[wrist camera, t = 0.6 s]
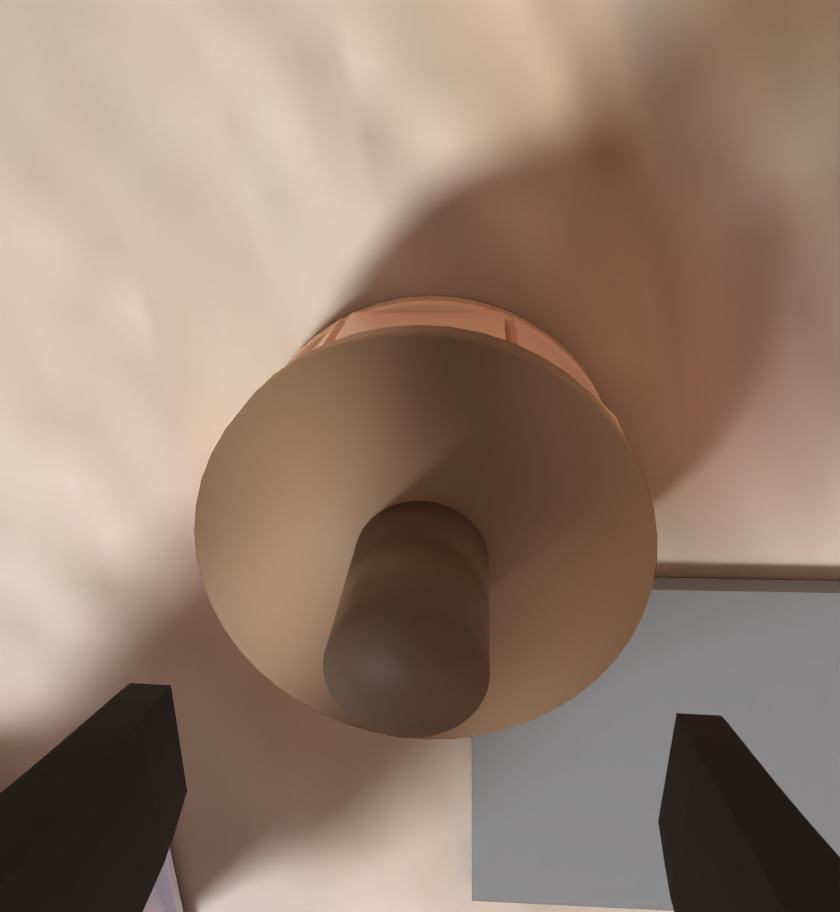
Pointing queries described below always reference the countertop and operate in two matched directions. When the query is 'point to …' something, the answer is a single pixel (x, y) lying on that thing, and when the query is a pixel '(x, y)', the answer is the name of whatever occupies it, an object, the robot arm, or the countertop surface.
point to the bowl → (457, 316)
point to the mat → (660, 741)
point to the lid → (426, 533)
